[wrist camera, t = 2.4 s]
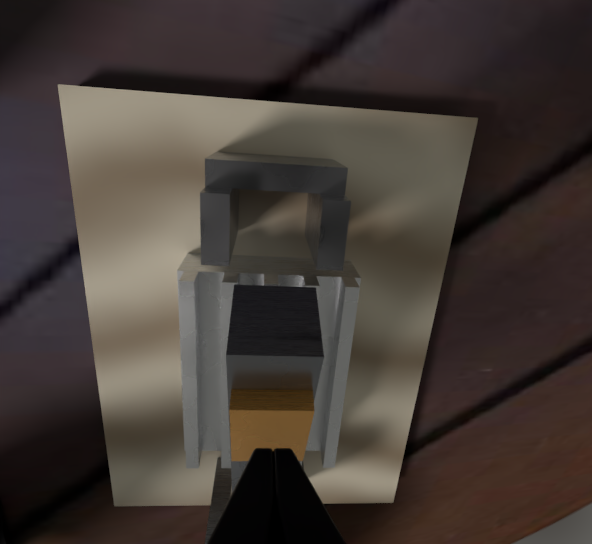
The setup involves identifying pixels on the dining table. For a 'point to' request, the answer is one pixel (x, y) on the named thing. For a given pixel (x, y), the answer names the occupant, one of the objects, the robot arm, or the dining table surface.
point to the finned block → (214, 336)
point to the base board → (255, 242)
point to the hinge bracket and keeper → (224, 228)
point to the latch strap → (271, 370)
